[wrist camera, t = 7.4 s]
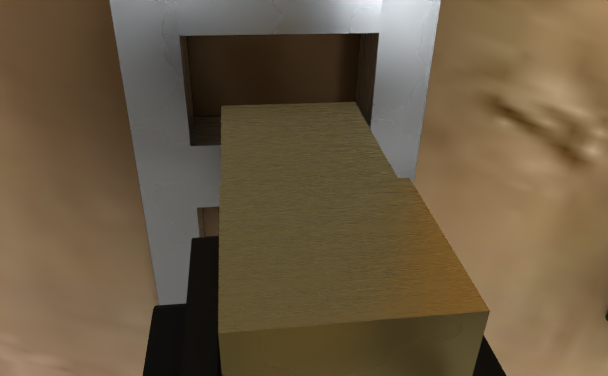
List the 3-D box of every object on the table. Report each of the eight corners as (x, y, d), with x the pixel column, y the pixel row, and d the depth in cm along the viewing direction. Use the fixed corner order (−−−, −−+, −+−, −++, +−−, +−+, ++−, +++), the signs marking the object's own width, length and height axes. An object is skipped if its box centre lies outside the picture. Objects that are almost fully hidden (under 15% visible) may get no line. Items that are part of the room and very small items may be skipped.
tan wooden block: (220, 93, 11) (217, 333, 6) (355, 88, 12) (490, 311, 6) (235, 326, 15) (244, 623, 9) (338, 317, 15) (411, 597, 10)
